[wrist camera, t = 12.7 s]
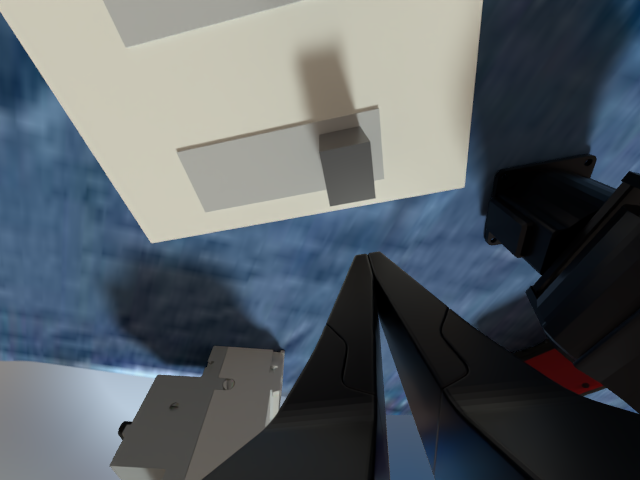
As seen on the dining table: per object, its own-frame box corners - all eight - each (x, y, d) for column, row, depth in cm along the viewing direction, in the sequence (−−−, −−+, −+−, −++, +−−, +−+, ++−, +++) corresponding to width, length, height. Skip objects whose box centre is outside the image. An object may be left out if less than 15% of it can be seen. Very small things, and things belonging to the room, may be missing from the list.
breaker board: (489, -259, 10) (516, -311, 9) (455, 179, 20) (465, 188, 18) (-31, -78, 13) (-74, -96, 11) (160, 233, 22) (149, 244, 21)
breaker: (359, 126, 16) (370, 141, 13) (365, 173, 18) (375, 198, 14) (319, 134, 16) (318, 151, 13) (328, 180, 18) (330, 206, 15)
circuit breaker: (159, 341, 30) (44, 536, 18) (284, 350, 31) (260, 541, 19) (171, 378, 34) (85, 557, 22) (282, 385, 35) (261, 561, 23)
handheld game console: (506, 387, 36) (544, 454, 30) (467, 352, 32) (503, 421, 26) (610, 347, 31) (683, 417, 25) (581, 300, 27) (659, 369, 21)
